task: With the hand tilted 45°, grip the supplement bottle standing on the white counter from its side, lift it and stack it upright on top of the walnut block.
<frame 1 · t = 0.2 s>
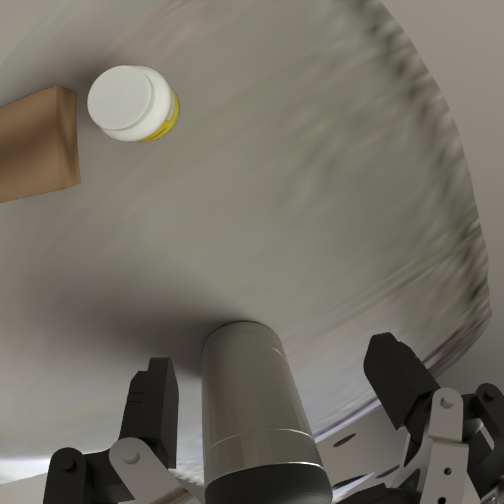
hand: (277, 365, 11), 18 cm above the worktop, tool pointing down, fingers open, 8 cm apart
supplement bottle: (151, 112, 23), on the worktop
walnut block: (40, 145, 22), on the worktop
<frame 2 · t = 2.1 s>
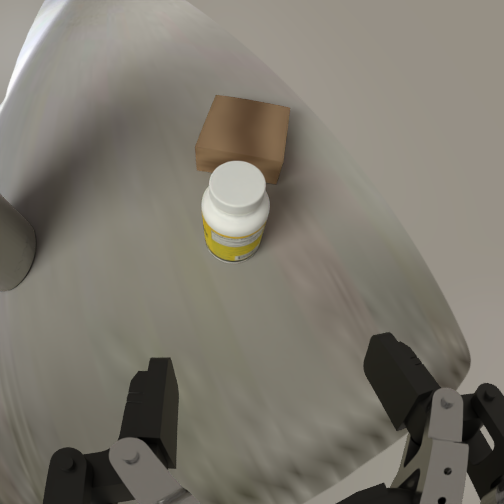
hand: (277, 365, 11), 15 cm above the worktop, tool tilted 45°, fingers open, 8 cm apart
supplement bottle: (232, 240, 29), on the worktop
walnut block: (243, 147, 34), on the worktop
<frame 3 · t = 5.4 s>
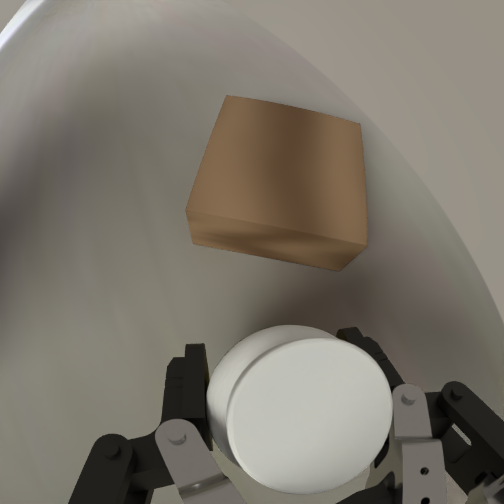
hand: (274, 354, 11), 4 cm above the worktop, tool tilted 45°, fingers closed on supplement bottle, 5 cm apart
supplement bottle: (264, 388, 15), on the worktop, touching gripper
walnut block: (277, 194, 19), on the worktop
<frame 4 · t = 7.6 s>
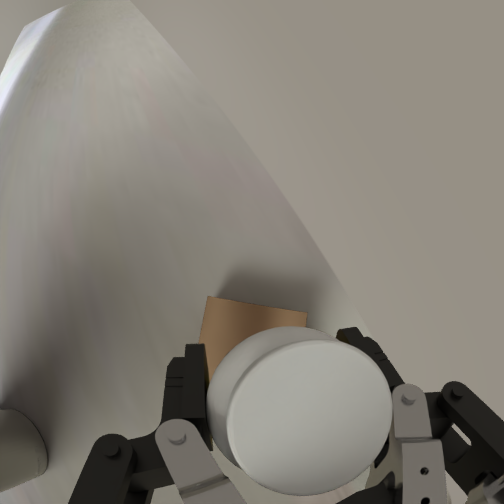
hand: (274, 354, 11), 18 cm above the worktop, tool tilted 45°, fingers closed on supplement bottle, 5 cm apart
supplement bottle: (264, 389, 15), point 13 cm above the worktop, touching gripper
walnut block: (247, 356, 28), on the worktop
when the fingers open (10 cm above the worktop, at t = 9.9 s): supplement bottle drops 1 cm, resting on walnut block.
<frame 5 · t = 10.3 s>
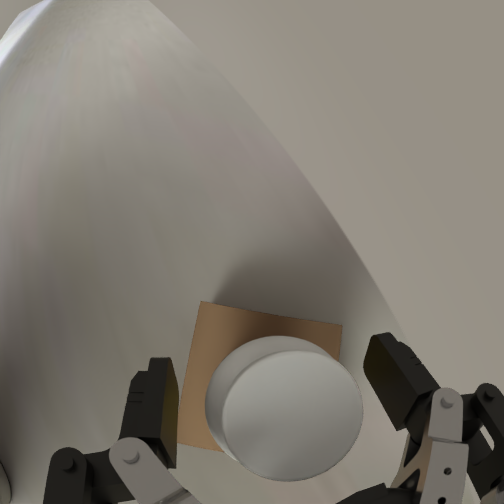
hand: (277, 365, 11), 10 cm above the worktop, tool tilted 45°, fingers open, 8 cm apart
supplement bottle: (258, 390, 16), point 4 cm above the worktop, touching walnut block
walnut block: (255, 383, 20), on the worktop
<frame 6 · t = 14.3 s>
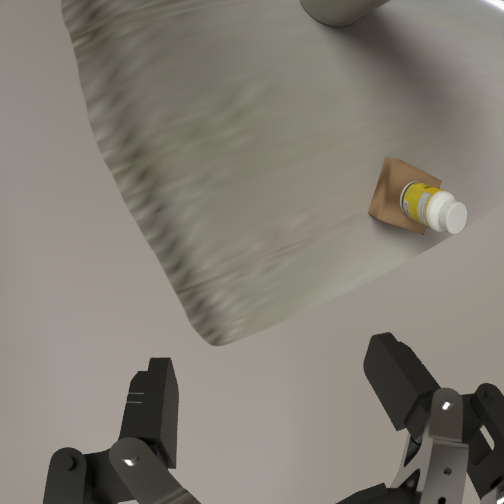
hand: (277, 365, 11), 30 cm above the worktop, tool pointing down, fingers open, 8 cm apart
supplement bottle: (412, 198, 37), point 4 cm above the worktop, touching walnut block
walnut block: (399, 193, 41), on the worktop
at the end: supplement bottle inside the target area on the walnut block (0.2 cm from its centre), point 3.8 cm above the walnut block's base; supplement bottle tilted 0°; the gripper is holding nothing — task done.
